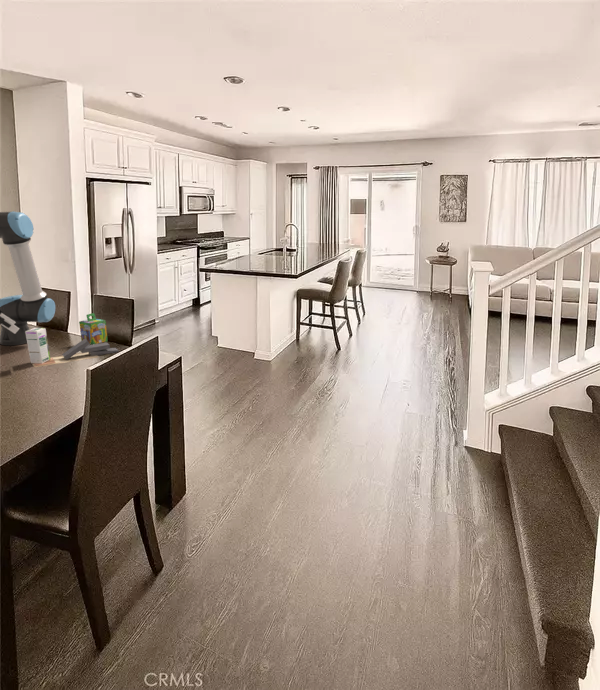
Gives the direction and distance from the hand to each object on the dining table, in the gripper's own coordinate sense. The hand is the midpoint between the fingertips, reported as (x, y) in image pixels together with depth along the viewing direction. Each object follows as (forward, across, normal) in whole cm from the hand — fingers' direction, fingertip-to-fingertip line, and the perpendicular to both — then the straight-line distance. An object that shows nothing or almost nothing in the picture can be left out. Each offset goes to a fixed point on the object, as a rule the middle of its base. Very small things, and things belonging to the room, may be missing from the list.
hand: (15, 327), depth 219 cm
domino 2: (+27, 0, +8) cm, 28 cm away
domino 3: (+30, 0, +9) cm, 32 cm away
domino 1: (+23, 0, +1) cm, 23 cm away
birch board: (+24, 0, 0) cm, 25 cm away
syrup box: (+17, -1, -6) cm, 18 cm away
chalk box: (+38, -24, +12) cm, 46 cm away
